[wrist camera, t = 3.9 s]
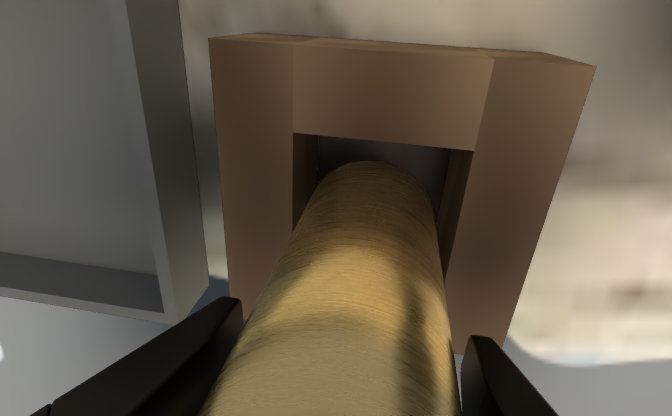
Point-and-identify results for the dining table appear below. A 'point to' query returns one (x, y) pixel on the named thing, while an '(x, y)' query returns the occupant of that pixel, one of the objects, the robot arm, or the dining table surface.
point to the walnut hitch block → (397, 127)
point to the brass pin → (349, 310)
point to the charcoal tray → (98, 159)
